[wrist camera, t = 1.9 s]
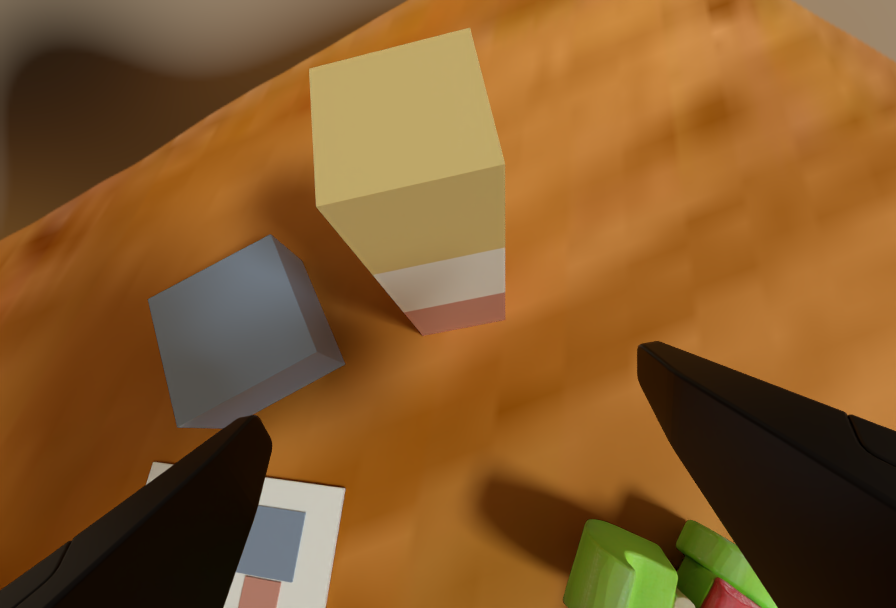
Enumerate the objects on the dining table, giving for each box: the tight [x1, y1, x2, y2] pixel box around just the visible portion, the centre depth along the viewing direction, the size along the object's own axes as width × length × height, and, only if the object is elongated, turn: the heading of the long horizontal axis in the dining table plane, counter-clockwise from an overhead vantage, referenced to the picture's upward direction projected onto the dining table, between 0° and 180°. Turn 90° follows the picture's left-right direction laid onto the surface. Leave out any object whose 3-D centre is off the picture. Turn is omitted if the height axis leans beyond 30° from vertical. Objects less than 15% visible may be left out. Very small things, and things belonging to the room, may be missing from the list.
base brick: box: [148, 234, 345, 428], centre depth 23 cm, size 8×8×4 cm
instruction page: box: [146, 462, 345, 608], centre depth 21 cm, size 12×9×1 cm
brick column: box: [309, 28, 505, 336], centre depth 17 cm, size 5×5×14 cm
